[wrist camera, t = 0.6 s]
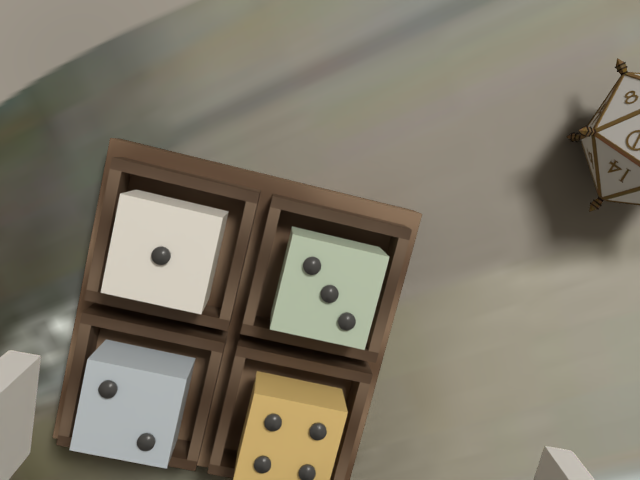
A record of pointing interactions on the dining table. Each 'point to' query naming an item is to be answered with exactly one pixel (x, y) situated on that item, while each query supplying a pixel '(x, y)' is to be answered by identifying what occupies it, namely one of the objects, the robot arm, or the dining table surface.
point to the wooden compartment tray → (236, 300)
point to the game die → (615, 142)
